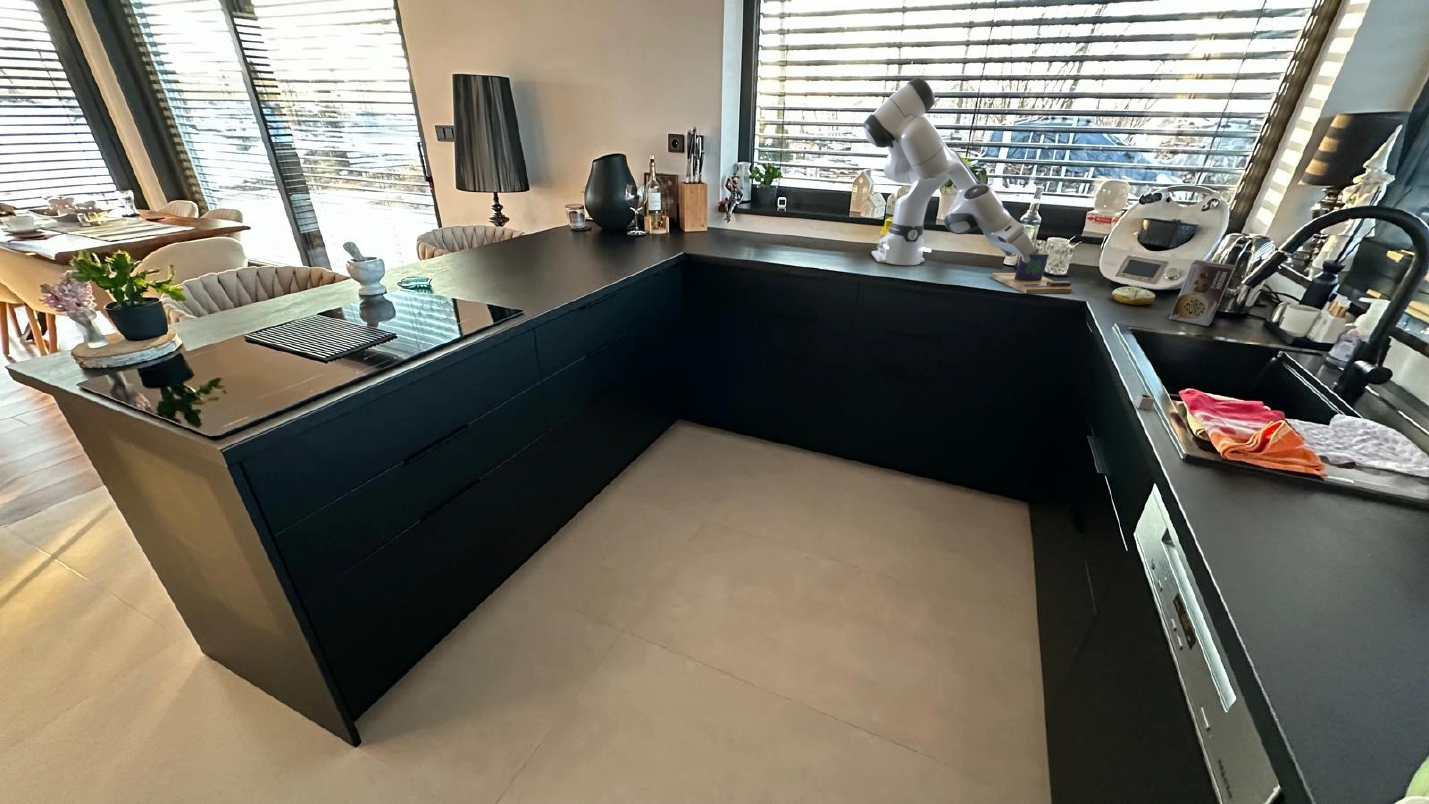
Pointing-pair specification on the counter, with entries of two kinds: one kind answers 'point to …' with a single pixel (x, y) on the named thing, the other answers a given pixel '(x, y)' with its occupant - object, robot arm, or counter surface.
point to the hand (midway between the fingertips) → (1018, 257)
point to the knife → (1049, 284)
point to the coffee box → (1202, 292)
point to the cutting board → (1017, 284)
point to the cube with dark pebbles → (1144, 401)
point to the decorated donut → (1133, 295)
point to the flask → (1032, 267)
